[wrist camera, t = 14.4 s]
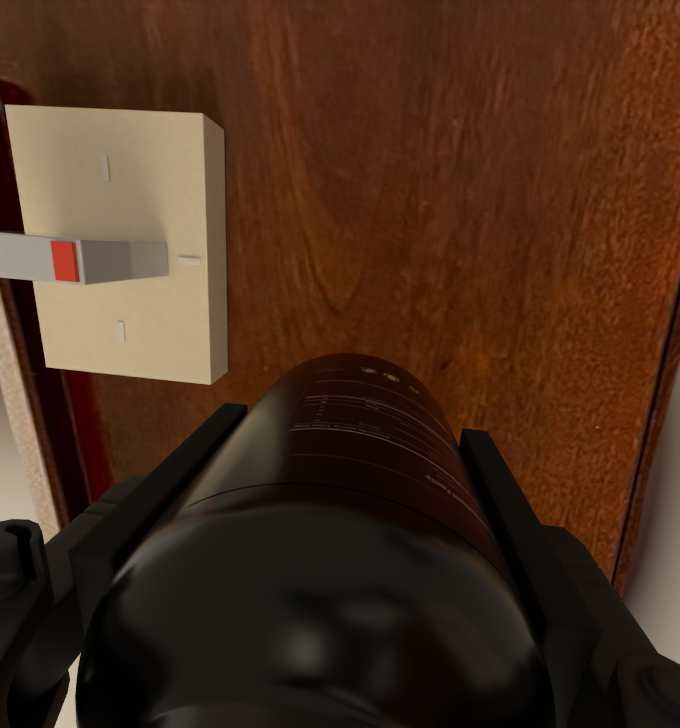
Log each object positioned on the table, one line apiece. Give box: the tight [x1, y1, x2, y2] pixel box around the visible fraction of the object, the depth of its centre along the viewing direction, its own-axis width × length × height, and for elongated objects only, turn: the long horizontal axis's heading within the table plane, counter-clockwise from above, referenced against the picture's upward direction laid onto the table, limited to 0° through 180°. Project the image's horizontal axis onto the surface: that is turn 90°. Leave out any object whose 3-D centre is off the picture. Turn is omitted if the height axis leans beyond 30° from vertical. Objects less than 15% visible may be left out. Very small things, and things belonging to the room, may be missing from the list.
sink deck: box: [5, 105, 228, 385], centre depth 25 cm, size 16×12×3 cm
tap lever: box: [0, 231, 168, 285], centre depth 20 cm, size 7×2×7 cm, turn 86°
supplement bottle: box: [75, 353, 556, 728], centre depth 8 cm, size 7×7×12 cm
